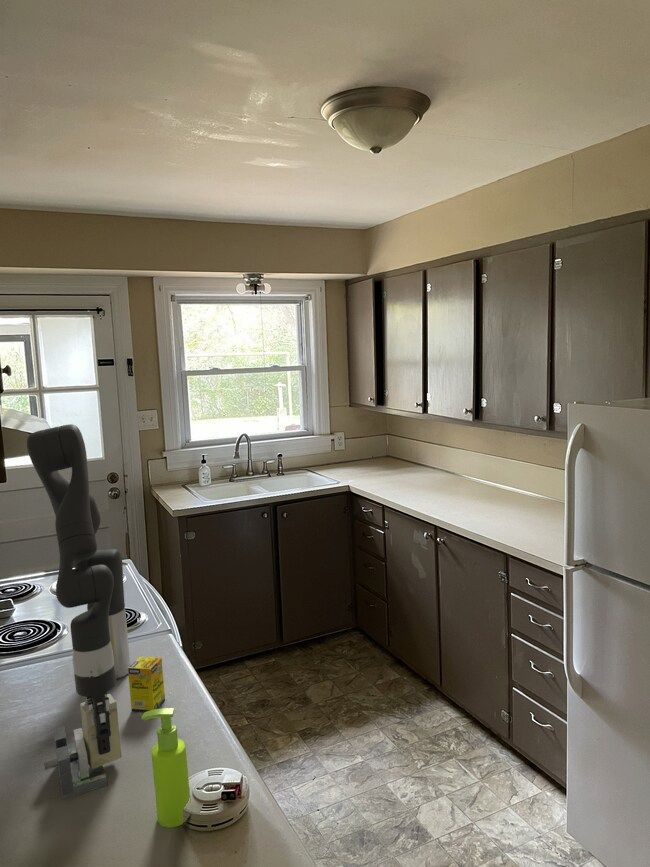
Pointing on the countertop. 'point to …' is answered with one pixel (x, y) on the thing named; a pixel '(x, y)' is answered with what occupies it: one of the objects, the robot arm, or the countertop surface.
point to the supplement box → (146, 684)
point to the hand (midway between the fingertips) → (102, 745)
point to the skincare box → (91, 740)
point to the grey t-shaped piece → (75, 756)
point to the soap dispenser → (169, 770)
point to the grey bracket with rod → (74, 770)
